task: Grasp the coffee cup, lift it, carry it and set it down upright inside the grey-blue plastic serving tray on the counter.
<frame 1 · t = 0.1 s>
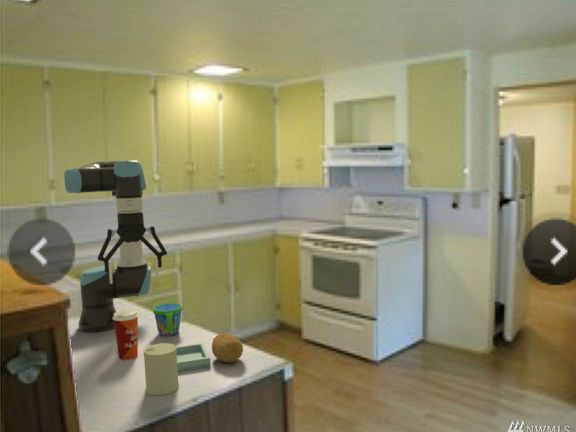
hand: (134, 280, 157), 28 cm above the counter, fingers open, 13 cm apart
can: (162, 388, 145), on the counter
potato: (227, 360, 163), on the counter
coffee cup: (128, 357, 169), on the counter
tray: (186, 361, 163), on the counter
snack cup: (169, 333, 191), on the counter
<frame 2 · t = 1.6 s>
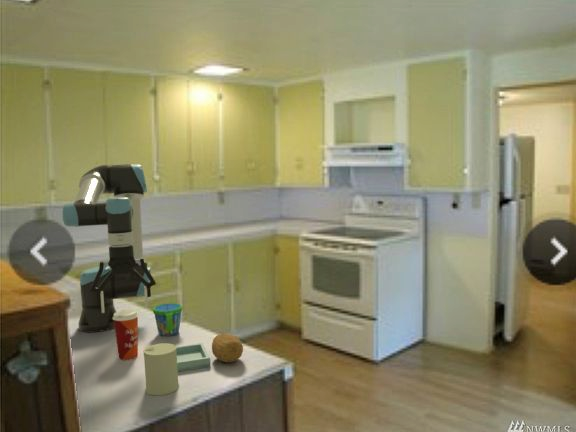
hand: (125, 309, 167), 16 cm above the counter, fingers open, 13 cm apart
nothing on the counter moved.
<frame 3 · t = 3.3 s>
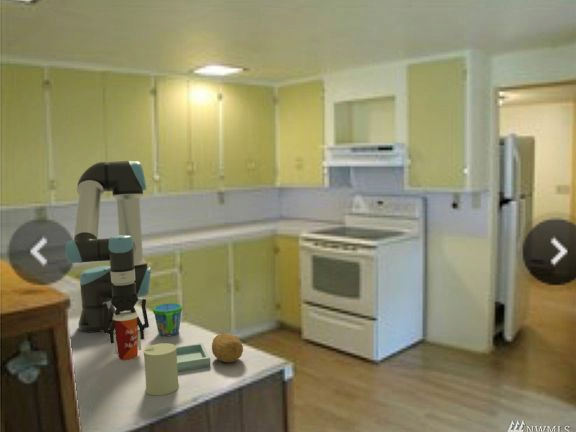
hand: (128, 350, 169), 2 cm above the counter, fingers closed on coffee cup, 7 cm apart
coffee cup: (128, 357, 169), on the counter, touching gripper
everything else where it was.
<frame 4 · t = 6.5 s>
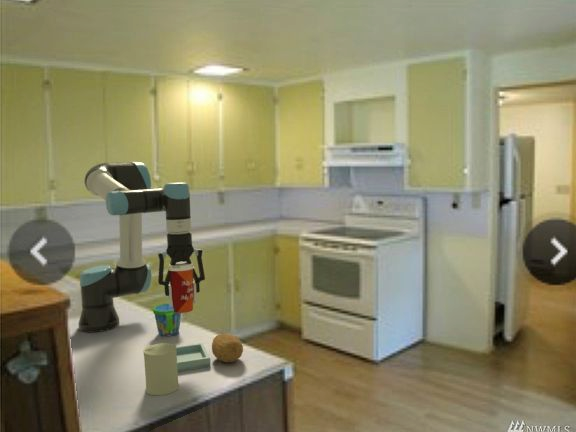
hand: (183, 303, 161), 19 cm above the counter, fingers closed on coffee cup, 7 cm apart
coffee cup: (183, 310, 161), point 17 cm above the counter, touching gripper
everything else where it was.
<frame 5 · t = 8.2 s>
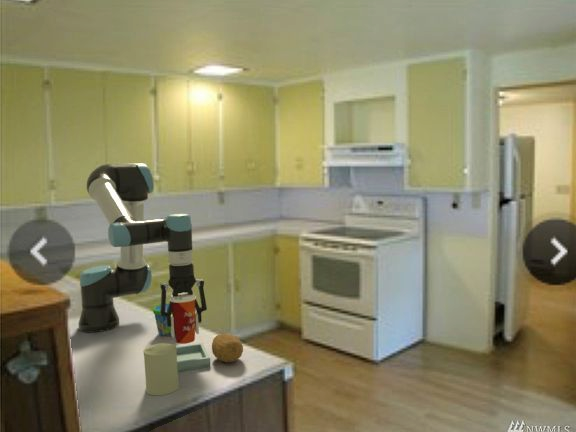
hand: (185, 334, 162), 9 cm above the counter, fingers closed on coffee cup, 7 cm apart
coffee cup: (185, 341, 162), point 7 cm above the counter, touching gripper
everything else where it was.
when the fingers open (4 cm above the counter, at t = 9.5 s): coffee cup drops 2 cm, resting on tray.
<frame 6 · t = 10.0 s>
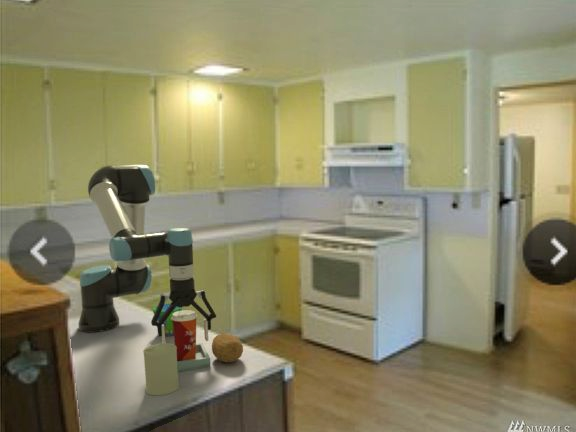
hand: (185, 342, 163), 6 cm above the counter, fingers open, 13 cm apart
coffee cup: (186, 359, 163), point 1 cm above the counter, touching tray
everything else where it was.
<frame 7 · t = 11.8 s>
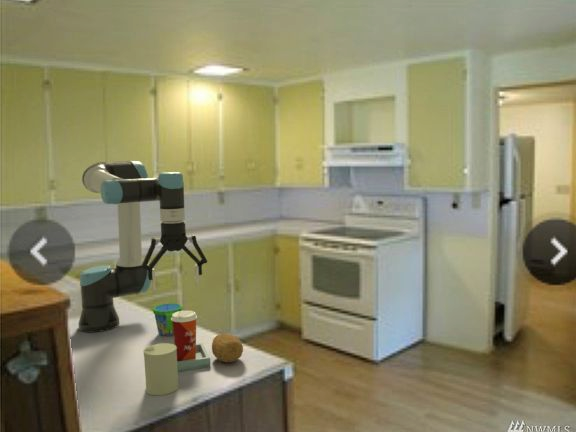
hand: (176, 287, 163), 24 cm above the counter, fingers open, 13 cm apart
nothing on the counter moved.
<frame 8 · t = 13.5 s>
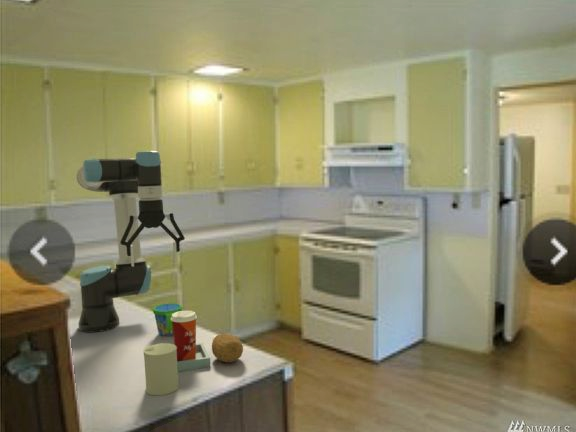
hand: (154, 263, 167), 31 cm above the counter, fingers open, 13 cm apart
nothing on the counter moved.
at the end: coffee cup inside the target area on the tray (0.1 cm from its centre), point 0.6 cm above the tray's base; coffee cup tilted 0°; the gripper is holding nothing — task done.
